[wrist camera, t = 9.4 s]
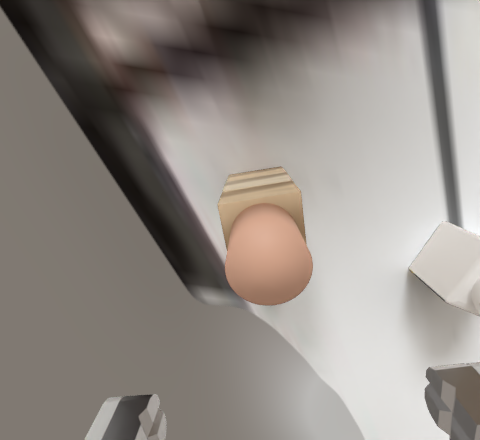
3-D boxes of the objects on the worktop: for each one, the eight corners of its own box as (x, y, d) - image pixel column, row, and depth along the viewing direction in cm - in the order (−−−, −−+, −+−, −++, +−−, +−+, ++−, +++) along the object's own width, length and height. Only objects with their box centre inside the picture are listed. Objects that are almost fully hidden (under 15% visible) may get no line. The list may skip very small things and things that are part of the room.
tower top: (222, 192, 23) (217, 204, 19) (292, 180, 23) (300, 191, 19) (234, 254, 25) (232, 276, 21) (299, 244, 25) (308, 266, 21)
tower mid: (226, 181, 27) (222, 190, 23) (286, 172, 26) (292, 180, 23) (236, 236, 29) (234, 253, 25) (292, 228, 28) (298, 244, 25)
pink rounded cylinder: (225, 208, 20) (217, 234, 15) (294, 198, 19) (309, 222, 14) (236, 268, 21) (232, 309, 16) (300, 260, 21) (315, 300, 16)
